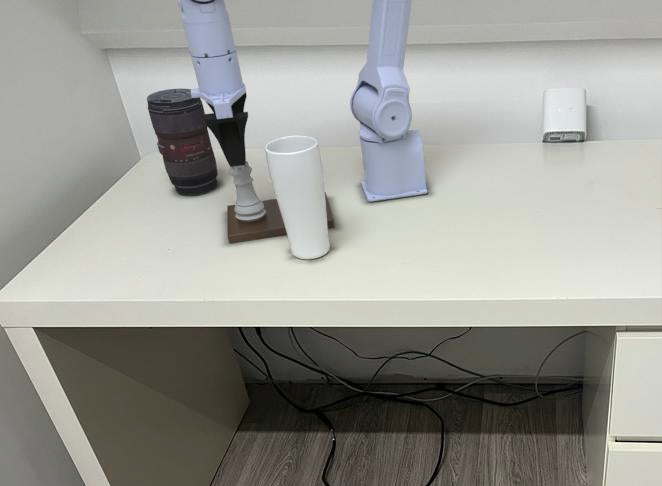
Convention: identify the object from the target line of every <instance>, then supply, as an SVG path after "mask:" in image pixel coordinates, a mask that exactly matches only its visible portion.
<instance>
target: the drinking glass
mask: <svg viewBox="0 0 662 486" xmlns="http://www.w3.org/2000/svg"><path fill="white" fill-rule="evenodd" d="M264 152H265V159H266V163H267V170H268V174H269V178H270V182H271V185H272V189H273V192H274V196H275V199H277V202H278V206H279V209H280V212H281V215H282V219H283V222H284V226H285V229H286V232H287V235H286V236H287V239H288V243H289V249H290V252H291V254H292V256H294V257H295V258H298V259H302V260H313V259H318V258H321V257H323V256H324V255H326V254H327V253H328V252H329V251H330V248H331V242H330V237H329V236H330V235H329V229H328V226H327V214H326V201H325V192H326V190H325V189H326V188H325V176H324V168H323V162H322V161H323V160H322V156H321V151H320V147H319V142H318V140H317V139H316V138H314V137H313V136H308V135H289V136H282V137H279V138H275V139H273V140H270V141H269V142H268V143H267V144H266V145H265V146H264Z"/></svg>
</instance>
